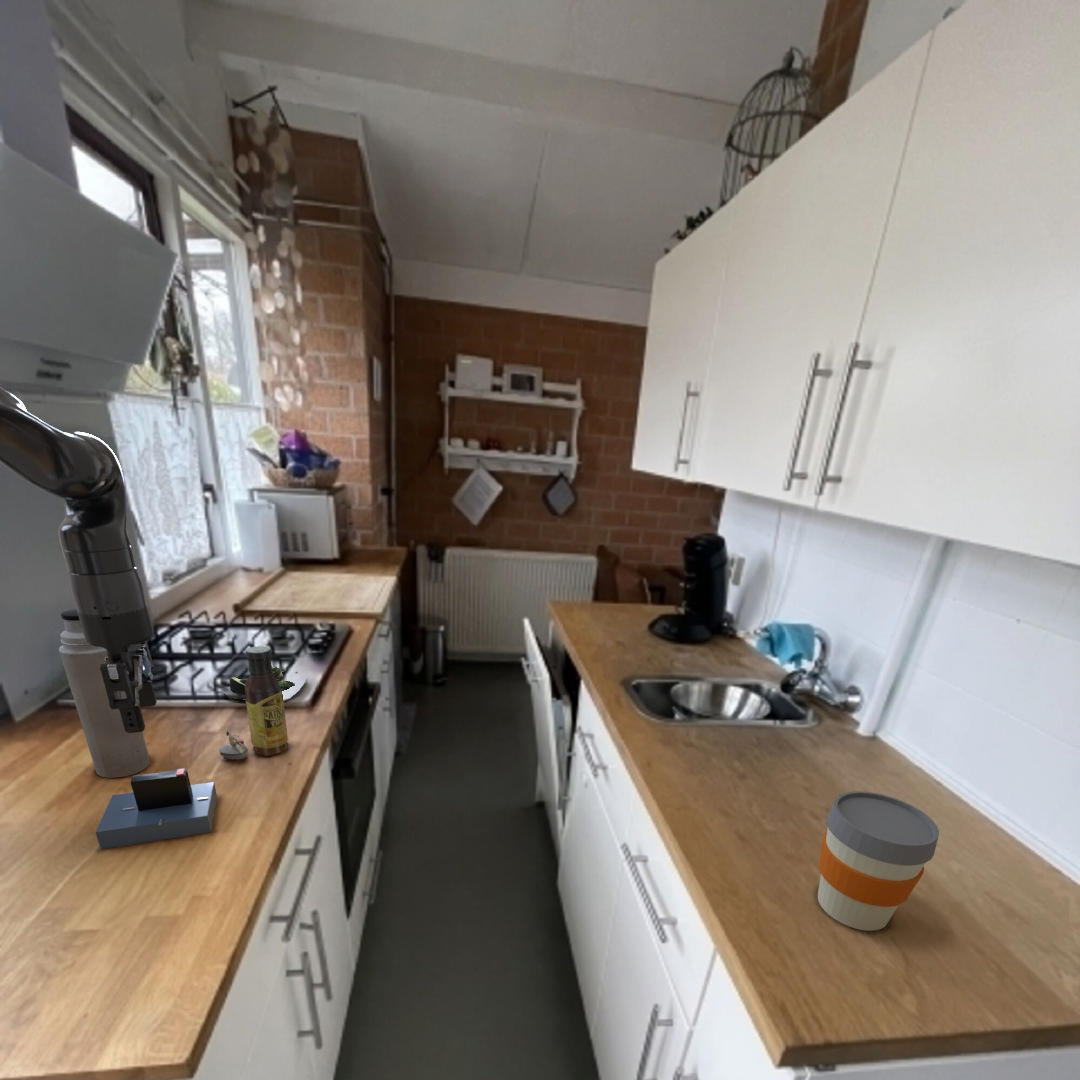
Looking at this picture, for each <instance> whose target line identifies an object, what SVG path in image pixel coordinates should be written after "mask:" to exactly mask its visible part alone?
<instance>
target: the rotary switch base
mask: <svg viewBox="0 0 1080 1080" xmlns="http://www.w3.org/2000/svg"><path fill="white" fill-rule="evenodd" d="M190 785H191V789H192V793H193V800H192V803H191V804H184V805H177V806H170V807H163V808H155V809H148V810H141V811H138V808H137V804H136V800H135V797H134V793H133V791H132V792H125V793H118V794H112V795H111V797H110V800H109V802H108V804H107V806H106V808H105V810H104V812H103V815H102V817H101V819H100V821H99V823H98V825H97V828H96V830H95V836H96V839H97V842H98V845H99V848H100V850H104V849H112V848H118V847H124V846H131V845H137V844H144V843H150V842H156V841H157V842H158V841H162V840H163V841H164V840H170V839H176V838H182V837H188V836H189V837H190V836H195V835H201V834H208V833H212V828H213V824H214V817H215V813H216V806H217V802H218V794H217V789H216V784H215V782H214V781H211V782H202V783H194V784H190Z"/></svg>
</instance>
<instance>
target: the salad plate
mask: <svg viewBox="0 0 1080 1080" xmlns="http://www.w3.org/2000/svg"><path fill="white" fill-rule="evenodd" d="M272 669H273V673H274V676H275V678H276V679H280V678H282V677H283V674H282V672H283V671H282V669H281V667H280V668H277V667H275V668H273V667H272ZM246 682H247V679H238V678H236V677H235V676H231V677H230V679H229V682H228V683H230V690H231V691H232V692H233V693H236V694H238V695H246V693H245V684H246ZM278 684H279V686H280V688H281V690H282V691H284V690H287V689H289V688H290V687H292V686H295V683H293V682H290V681H284V680H282V681H278ZM231 691H230V692H231ZM225 697H226V698H228V700H230V701H232V702H236V703H242V704H246V700H243V699H233V698H229V697H227V696H225Z"/></svg>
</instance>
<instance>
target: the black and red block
mask: <svg viewBox="0 0 1080 1080" xmlns="http://www.w3.org/2000/svg"><path fill="white" fill-rule="evenodd" d="M191 785H192V784H191V781H190V776H189V771H188V769H187V768H185V767H183V768H177V769H176V770H167V771H160V772H152V773H143V774H134V775H133V776H132V777H131V780H130V787H131V789H132V792H133V793H134V797H135V800H136V804H137V808H138V811H141V810H148V809H155V808H163V807H170V806H177V805H184V804H191V803H192V800H193V793H192V789H191Z"/></svg>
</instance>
